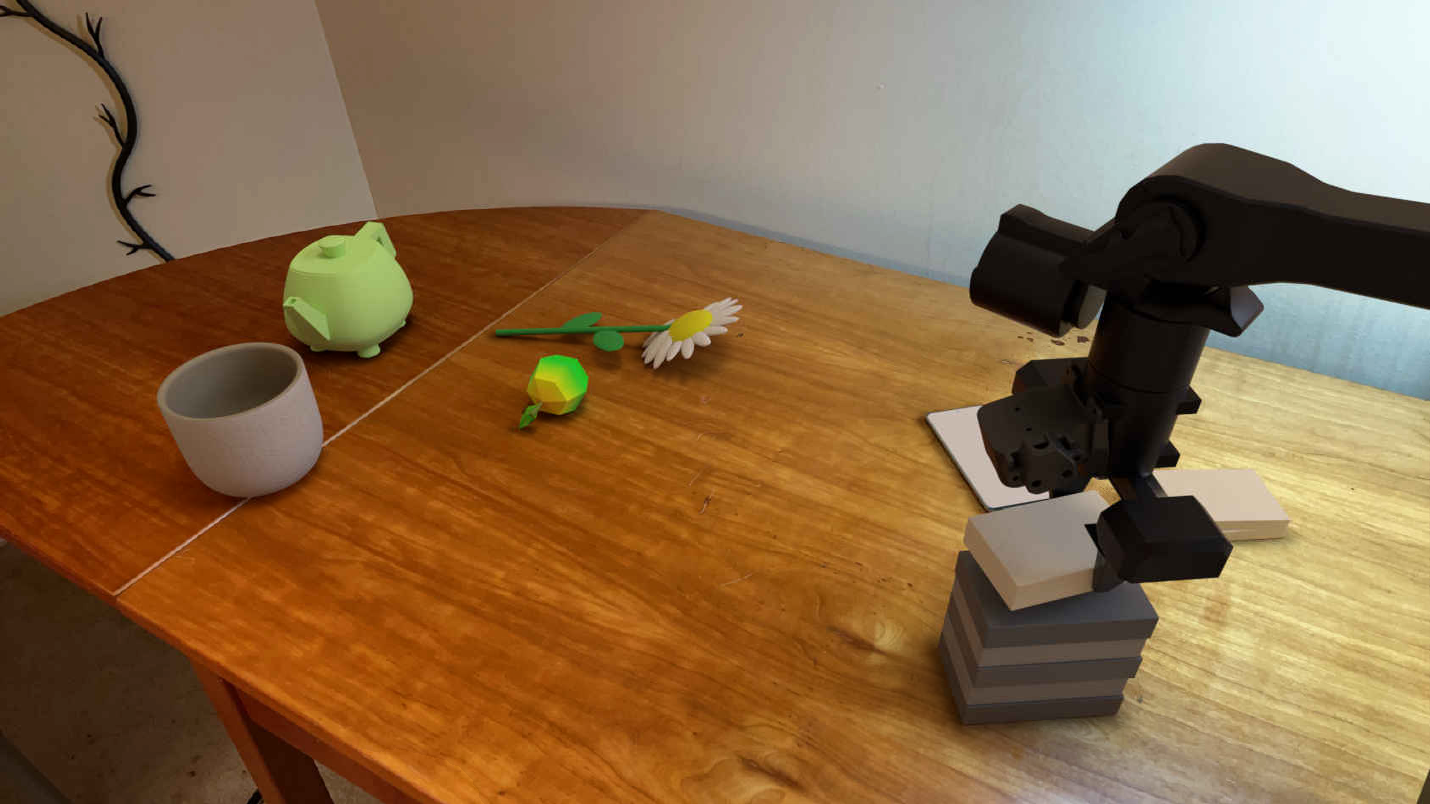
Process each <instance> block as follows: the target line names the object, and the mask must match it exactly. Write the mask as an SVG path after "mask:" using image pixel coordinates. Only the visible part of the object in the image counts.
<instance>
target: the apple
mask: <svg viewBox="0 0 1430 804" xmlns="http://www.w3.org/2000/svg"><path fill="white" fill-rule="evenodd" d="M588 382H589V376H588V374H587V372H586V371H585V369H584V368H583V366H582V365H581V363H580V361H579V360H578V358H576V357H575V358H574V357H570V356H565V355H561V354H553V355H549V356H545V357H541V358H540V359H539V361H538V363H537V364H536V366H535V368H534V370H533V372H532V373H531V375H530V377H529V380H528V385H527V389H526V393H527V395H528V396H529V397H530V399H531V401H532V403H533V404H534V405H530V406H529V405H528V406H527V407H525V409H523V410H522V413H521V417H520V420H519V421H520V422H519V426H518V430H521V429H522V428H525V427H527V426H529V425H531V424H532V423H533V422H534V421H535V420H536V419H537V415H538V412H539V411H541V412H545V413H547V414H552V415H557V416H561V415H564V414H567V413H570V412H573V411H575V410H576V409H577V407H578V405H579V404H580V402H581V401H582V399H583V397H584V396H585V394H586V392H587V390H588Z"/></svg>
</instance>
